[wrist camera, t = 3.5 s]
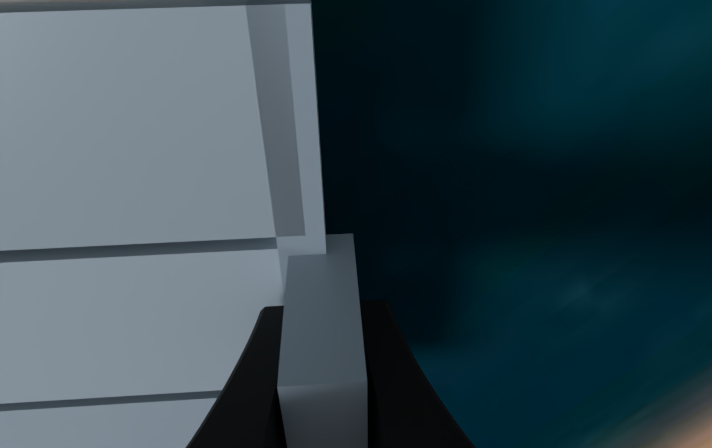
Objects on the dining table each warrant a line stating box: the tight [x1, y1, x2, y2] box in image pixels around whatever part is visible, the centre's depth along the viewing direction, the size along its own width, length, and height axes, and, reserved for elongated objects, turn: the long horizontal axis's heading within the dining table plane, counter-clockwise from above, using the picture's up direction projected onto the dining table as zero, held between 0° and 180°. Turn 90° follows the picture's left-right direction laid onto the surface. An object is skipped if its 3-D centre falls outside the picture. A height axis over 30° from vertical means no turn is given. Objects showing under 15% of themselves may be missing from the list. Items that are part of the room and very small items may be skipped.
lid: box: [0, 0, 368, 448], centre depth 10 cm, size 14×10×4 cm
